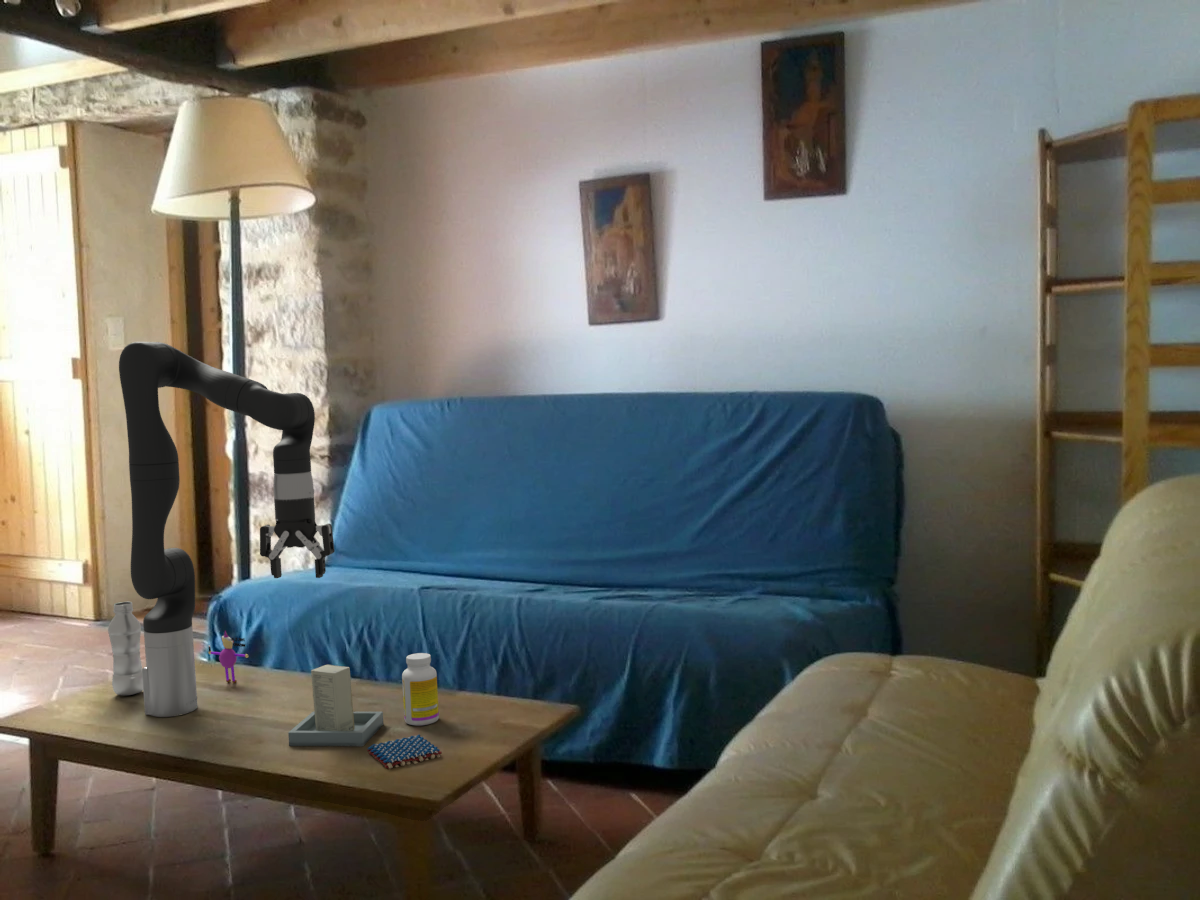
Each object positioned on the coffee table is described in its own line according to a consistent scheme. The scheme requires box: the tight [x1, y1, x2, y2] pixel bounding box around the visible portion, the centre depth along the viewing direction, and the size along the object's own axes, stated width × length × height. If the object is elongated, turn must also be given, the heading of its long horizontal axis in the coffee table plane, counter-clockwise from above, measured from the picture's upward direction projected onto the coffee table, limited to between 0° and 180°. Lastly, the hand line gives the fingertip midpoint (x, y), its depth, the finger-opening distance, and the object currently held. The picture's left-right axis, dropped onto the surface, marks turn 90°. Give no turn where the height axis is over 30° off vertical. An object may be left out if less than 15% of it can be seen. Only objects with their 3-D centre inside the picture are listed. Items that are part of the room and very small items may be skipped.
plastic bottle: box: [107, 601, 143, 696], centre depth 233 cm, size 6×7×20 cm
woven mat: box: [366, 734, 443, 770], centre depth 191 cm, size 10×11×2 cm
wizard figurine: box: [208, 630, 249, 684], centre depth 239 cm, size 11×3×12 cm, turn 66°
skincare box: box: [310, 664, 355, 731], centre depth 202 cm, size 6×4×12 cm
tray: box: [287, 711, 385, 747], centre depth 202 cm, size 14×12×2 cm
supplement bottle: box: [401, 652, 440, 727], centre depth 208 cm, size 7×7×13 cm
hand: (298, 577), depth 211 cm, fingers open, 8 cm apart
